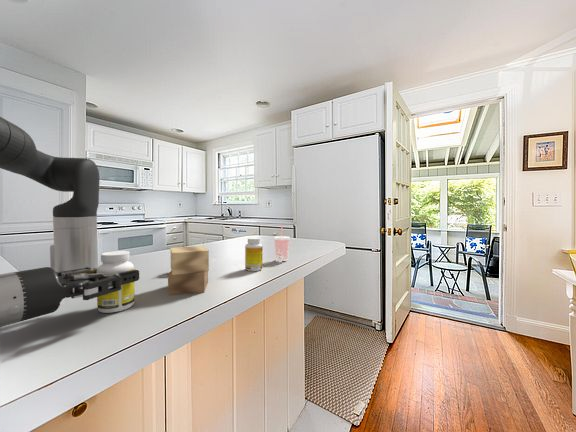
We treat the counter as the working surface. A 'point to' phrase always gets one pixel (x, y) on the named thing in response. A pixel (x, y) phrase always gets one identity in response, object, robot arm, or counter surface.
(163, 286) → the counter surface
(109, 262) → the pill bottle
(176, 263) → the upper block
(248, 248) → the supplement bottle
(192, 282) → the lower block
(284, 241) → the beverage cup
